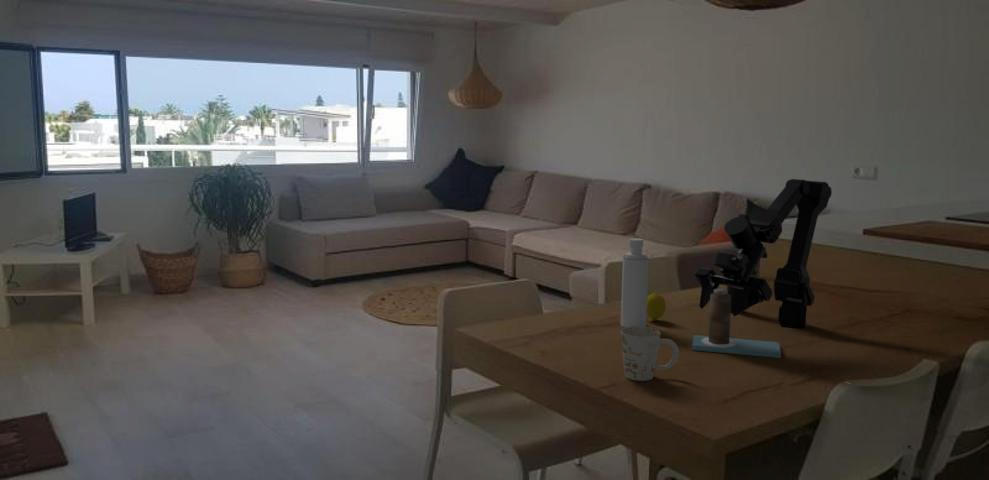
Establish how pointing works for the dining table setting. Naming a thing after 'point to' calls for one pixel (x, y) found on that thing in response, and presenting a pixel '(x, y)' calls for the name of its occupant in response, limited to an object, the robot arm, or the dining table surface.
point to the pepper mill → (719, 317)
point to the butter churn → (734, 296)
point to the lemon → (655, 306)
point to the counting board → (738, 347)
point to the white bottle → (634, 285)
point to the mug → (643, 352)
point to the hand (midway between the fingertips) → (716, 311)
